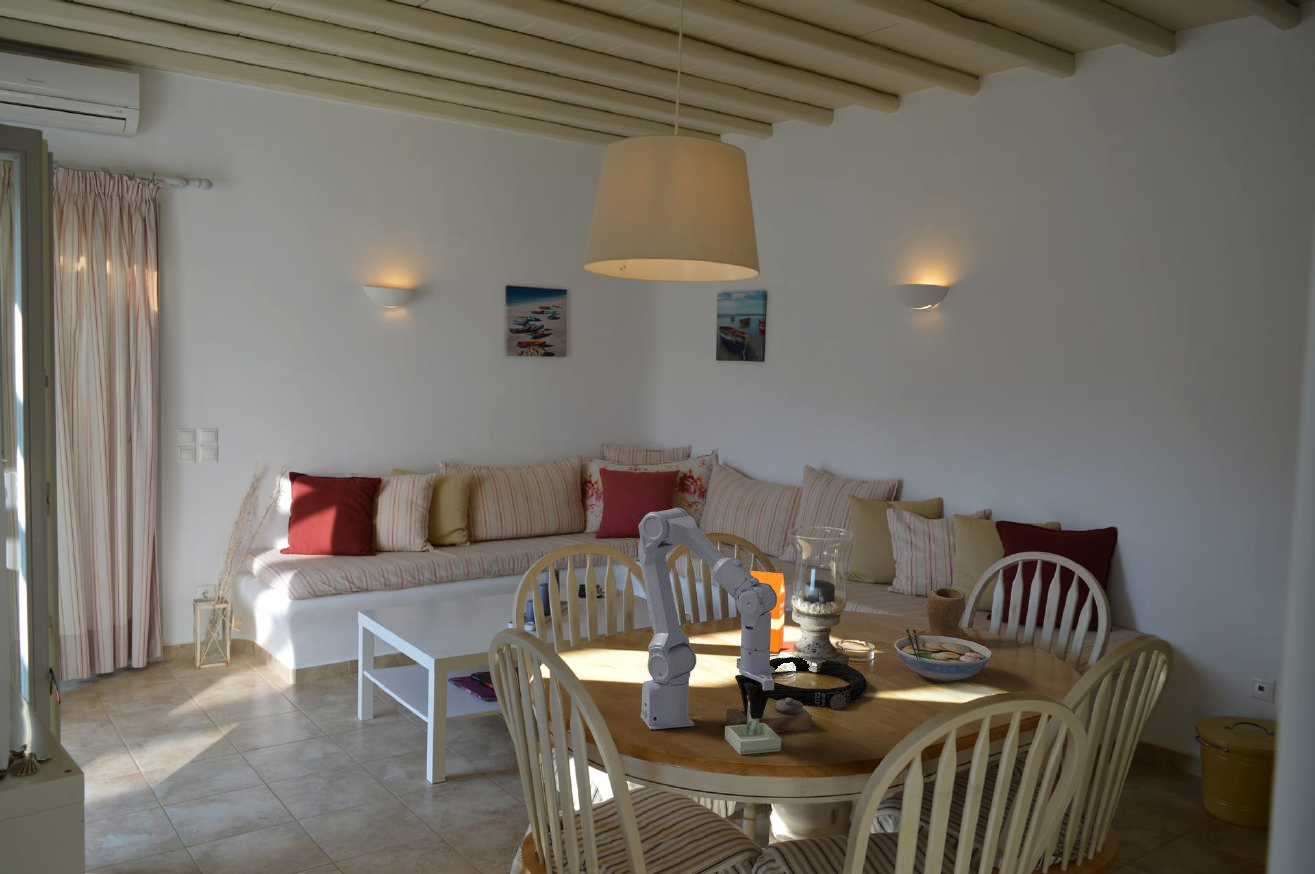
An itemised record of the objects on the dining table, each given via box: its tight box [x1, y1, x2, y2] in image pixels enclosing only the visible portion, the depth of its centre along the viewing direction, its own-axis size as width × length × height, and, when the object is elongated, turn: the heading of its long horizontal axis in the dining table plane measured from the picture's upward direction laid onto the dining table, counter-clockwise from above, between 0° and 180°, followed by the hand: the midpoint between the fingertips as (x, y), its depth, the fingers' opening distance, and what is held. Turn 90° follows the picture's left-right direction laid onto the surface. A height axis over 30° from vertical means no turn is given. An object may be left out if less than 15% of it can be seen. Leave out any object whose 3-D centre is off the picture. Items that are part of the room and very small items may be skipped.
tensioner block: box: [725, 698, 813, 733], centre depth 203 cm, size 16×7×5 cm, turn 106°
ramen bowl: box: [893, 628, 993, 683], centre depth 239 cm, size 25×23×8 cm
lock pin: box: [746, 693, 759, 736], centre depth 193 cm, size 3×3×8 cm
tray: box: [724, 723, 782, 755], centre depth 193 cm, size 8×8×2 cm
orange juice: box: [750, 570, 786, 653], centre depth 261 cm, size 8×9×20 cm
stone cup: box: [916, 586, 969, 640], centre depth 270 cm, size 15×12×15 cm
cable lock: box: [769, 656, 868, 711], centre depth 229 cm, size 28×4×30 cm
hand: (753, 714), depth 193 cm, fingers closed on lock pin, 3 cm apart
